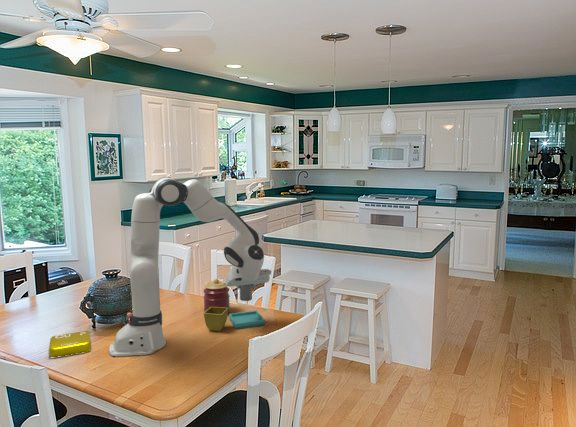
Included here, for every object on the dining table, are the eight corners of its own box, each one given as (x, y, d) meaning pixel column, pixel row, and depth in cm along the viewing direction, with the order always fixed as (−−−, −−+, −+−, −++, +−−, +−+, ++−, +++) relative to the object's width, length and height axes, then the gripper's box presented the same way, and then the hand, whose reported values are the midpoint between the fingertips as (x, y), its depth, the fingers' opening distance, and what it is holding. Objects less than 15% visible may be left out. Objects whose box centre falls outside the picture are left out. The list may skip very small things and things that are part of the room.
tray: (235, 329, 205) (235, 324, 205) (229, 318, 218) (229, 313, 218) (264, 325, 210) (264, 320, 209) (257, 315, 223) (257, 310, 223)
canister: (232, 308, 233) (231, 275, 231) (226, 317, 220) (225, 282, 218) (208, 307, 235) (207, 275, 232) (200, 316, 222) (199, 282, 220)
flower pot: (222, 333, 200) (221, 314, 199) (203, 332, 202) (203, 313, 201) (228, 326, 209) (228, 307, 208) (211, 325, 211) (210, 306, 210)
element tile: (49, 360, 177) (48, 348, 176) (51, 345, 190) (50, 335, 190) (91, 352, 183) (90, 341, 182) (90, 339, 197) (89, 328, 196)
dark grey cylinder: (241, 301, 209) (241, 278, 207) (239, 298, 214) (238, 275, 213) (253, 300, 211) (252, 277, 209) (250, 296, 216) (250, 274, 214)
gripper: (270, 263, 207) (265, 278, 217) (226, 267, 200) (223, 282, 211) (273, 275, 203) (268, 290, 214) (229, 279, 197) (225, 294, 207)
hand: (245, 286), depth 212 cm, fingers closed on dark grey cylinder, 6 cm apart
